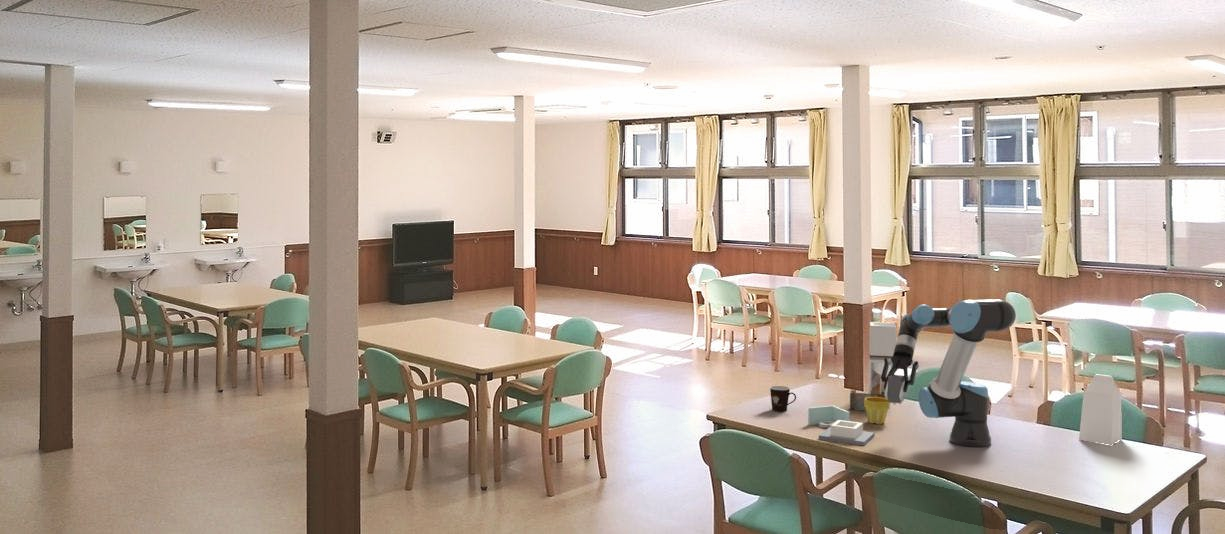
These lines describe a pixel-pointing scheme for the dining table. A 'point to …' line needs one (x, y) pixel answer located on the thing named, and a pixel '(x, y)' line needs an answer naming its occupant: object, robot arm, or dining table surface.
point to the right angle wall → (826, 415)
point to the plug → (895, 388)
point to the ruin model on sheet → (859, 400)
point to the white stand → (880, 354)
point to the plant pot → (876, 409)
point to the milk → (1101, 411)
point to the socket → (847, 433)
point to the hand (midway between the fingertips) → (893, 397)
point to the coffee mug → (780, 398)
